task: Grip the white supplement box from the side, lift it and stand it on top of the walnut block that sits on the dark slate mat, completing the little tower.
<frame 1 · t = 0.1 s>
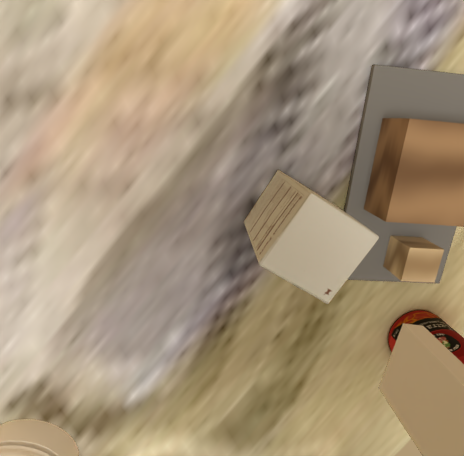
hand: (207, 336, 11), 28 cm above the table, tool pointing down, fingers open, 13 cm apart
canned food: (412, 333, 46), on the table
walnut block: (415, 168, 38), resting on slate mat
maple cube: (402, 251, 42), resting on slate mat
supplement box: (284, 210, 40), on the table
slate mat: (407, 185, 40), on the table
honey pot: (31, 453, 48), on the table
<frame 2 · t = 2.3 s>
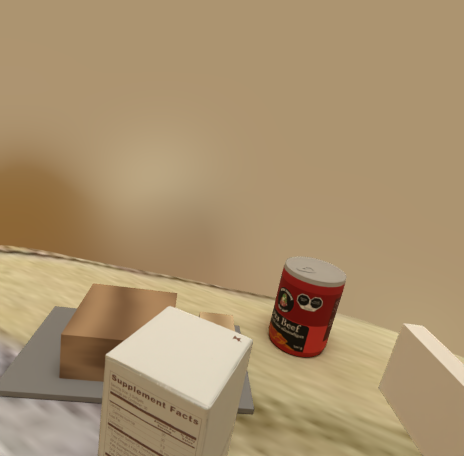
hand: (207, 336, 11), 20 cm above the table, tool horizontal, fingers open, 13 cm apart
canned food: (295, 341, 47), on the table
walnut block: (123, 349, 38), resting on slate mat
maple cube: (211, 352, 41), resting on slate mat
slate mat: (141, 355, 39), on the table
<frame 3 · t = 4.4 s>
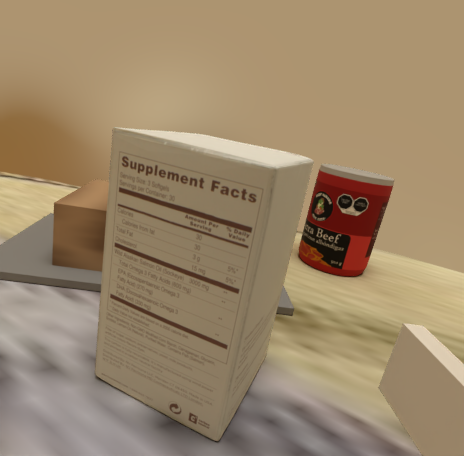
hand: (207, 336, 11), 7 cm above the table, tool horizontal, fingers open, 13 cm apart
canned food: (329, 264, 41), on the table
walnut block: (131, 250, 32), resting on slate mat
supplement box: (187, 370, 20), on the table
slate mat: (152, 259, 32), on the table
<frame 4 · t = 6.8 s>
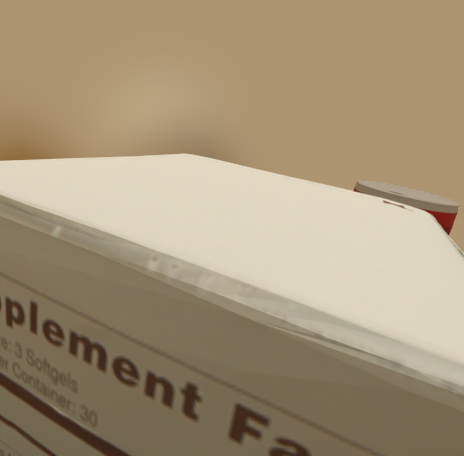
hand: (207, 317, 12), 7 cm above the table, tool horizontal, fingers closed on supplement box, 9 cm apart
canned food: (365, 310, 31), on the table
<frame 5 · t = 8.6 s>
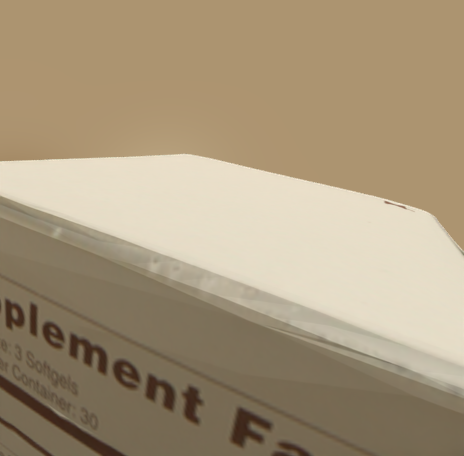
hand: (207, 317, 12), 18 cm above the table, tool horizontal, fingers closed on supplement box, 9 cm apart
when the fingers open (14 cm above the table, at t = 10.5 s): supplement box drops 1 cm, resting on walnut block.
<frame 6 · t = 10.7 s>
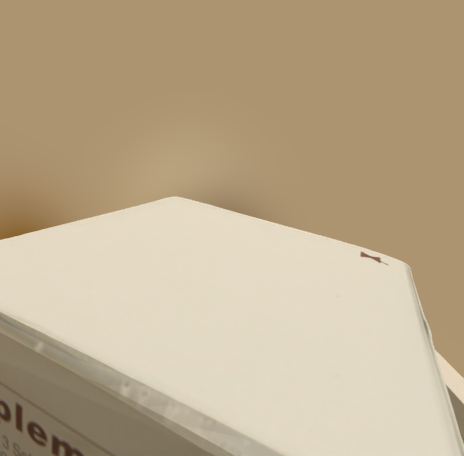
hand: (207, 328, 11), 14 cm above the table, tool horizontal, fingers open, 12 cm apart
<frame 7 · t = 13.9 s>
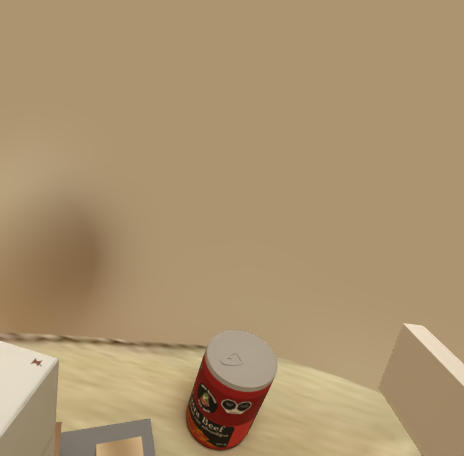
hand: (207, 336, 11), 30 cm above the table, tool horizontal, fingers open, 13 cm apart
canned food: (216, 420, 41), on the table
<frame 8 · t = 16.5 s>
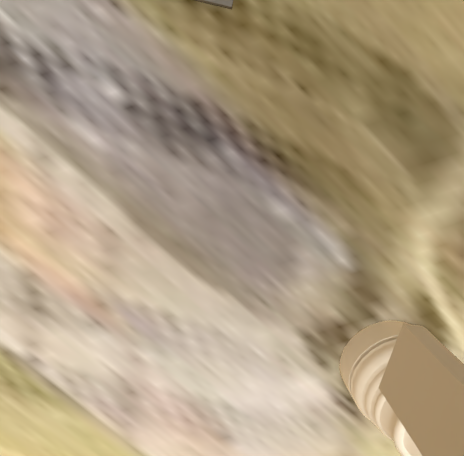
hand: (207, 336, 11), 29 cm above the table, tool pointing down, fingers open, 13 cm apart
honey pot: (382, 358, 49), on the table
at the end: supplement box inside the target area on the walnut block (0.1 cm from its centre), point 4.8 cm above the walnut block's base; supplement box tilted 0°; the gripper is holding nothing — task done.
